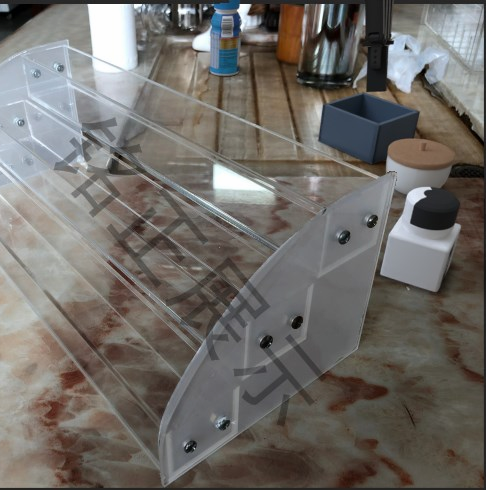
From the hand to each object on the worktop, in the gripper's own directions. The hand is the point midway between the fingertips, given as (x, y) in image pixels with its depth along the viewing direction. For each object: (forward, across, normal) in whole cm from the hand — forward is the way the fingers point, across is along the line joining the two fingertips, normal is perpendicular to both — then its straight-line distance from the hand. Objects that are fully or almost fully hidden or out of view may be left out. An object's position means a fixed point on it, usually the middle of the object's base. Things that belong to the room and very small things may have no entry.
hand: (376, 91), depth 90 cm
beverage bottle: (-2, -62, -50) cm, 80 cm away
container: (+25, +10, +8) cm, 28 cm away
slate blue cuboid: (+8, -35, -3) cm, 36 cm away
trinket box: (+19, -15, +4) cm, 24 cm away
